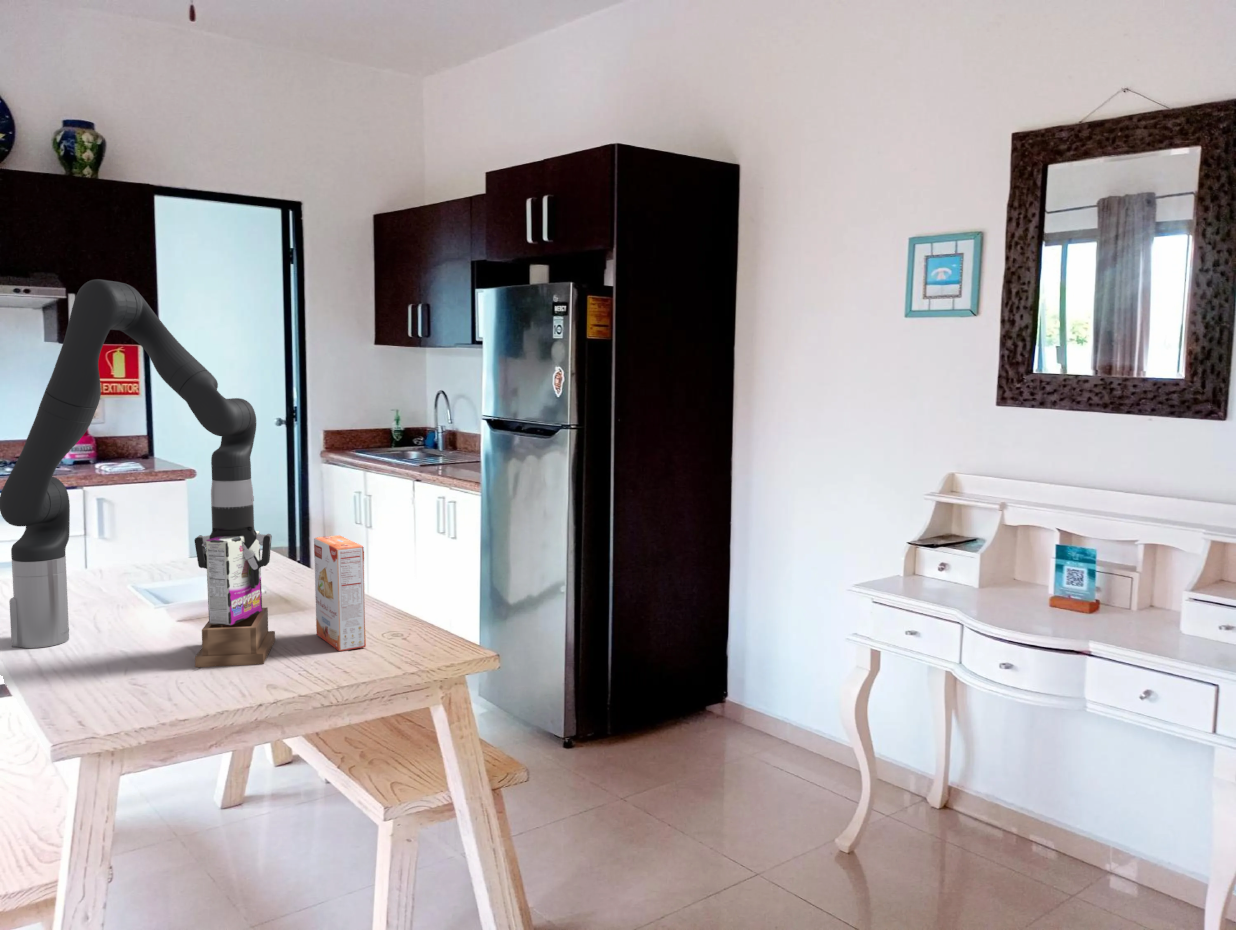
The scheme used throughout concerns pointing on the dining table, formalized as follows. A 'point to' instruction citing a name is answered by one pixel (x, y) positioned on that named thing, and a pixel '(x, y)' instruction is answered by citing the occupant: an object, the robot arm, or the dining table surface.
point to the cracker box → (340, 592)
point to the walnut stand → (236, 642)
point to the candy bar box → (231, 581)
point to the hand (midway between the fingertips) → (235, 588)
